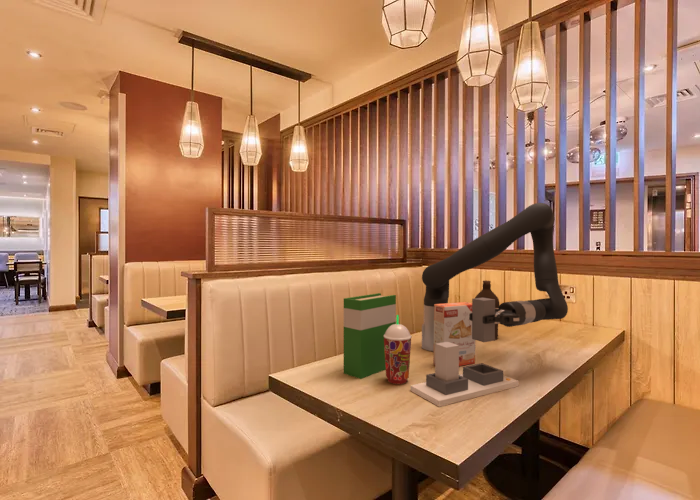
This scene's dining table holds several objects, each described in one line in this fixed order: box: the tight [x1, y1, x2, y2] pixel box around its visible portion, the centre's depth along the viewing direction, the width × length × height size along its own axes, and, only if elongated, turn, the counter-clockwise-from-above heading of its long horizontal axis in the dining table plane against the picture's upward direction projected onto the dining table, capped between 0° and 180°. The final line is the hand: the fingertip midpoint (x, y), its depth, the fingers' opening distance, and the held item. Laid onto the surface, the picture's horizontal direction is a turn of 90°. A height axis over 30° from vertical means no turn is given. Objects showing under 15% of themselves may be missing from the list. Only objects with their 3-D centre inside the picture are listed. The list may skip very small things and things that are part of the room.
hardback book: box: [343, 292, 397, 380], centre depth 126 cm, size 18×7×24 cm, turn 136°
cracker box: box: [432, 301, 476, 367], centre depth 132 cm, size 14×6×21 cm, turn 115°
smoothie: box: [384, 314, 412, 385], centre depth 116 cm, size 8×8×20 cm
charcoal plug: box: [471, 297, 496, 343], centre depth 113 cm, size 4×4×12 cm
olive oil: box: [474, 280, 500, 341], centre depth 168 cm, size 11×11×25 cm
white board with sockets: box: [409, 342, 520, 408], centre depth 110 cm, size 12×30×14 cm, turn 118°
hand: (477, 318), depth 112 cm, fingers closed on charcoal plug, 4 cm apart
